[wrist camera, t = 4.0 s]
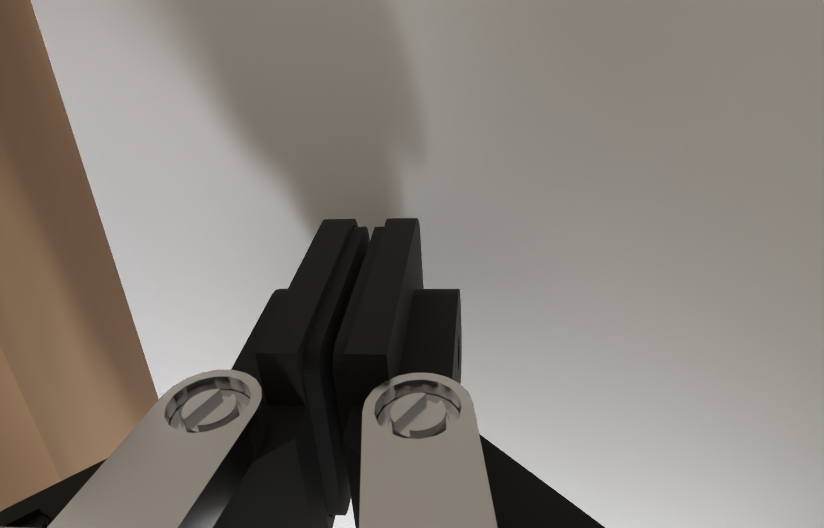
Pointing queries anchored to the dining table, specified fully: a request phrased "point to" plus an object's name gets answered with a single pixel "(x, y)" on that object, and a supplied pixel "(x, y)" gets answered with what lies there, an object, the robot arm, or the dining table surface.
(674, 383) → the dining table surface
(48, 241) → the tee
